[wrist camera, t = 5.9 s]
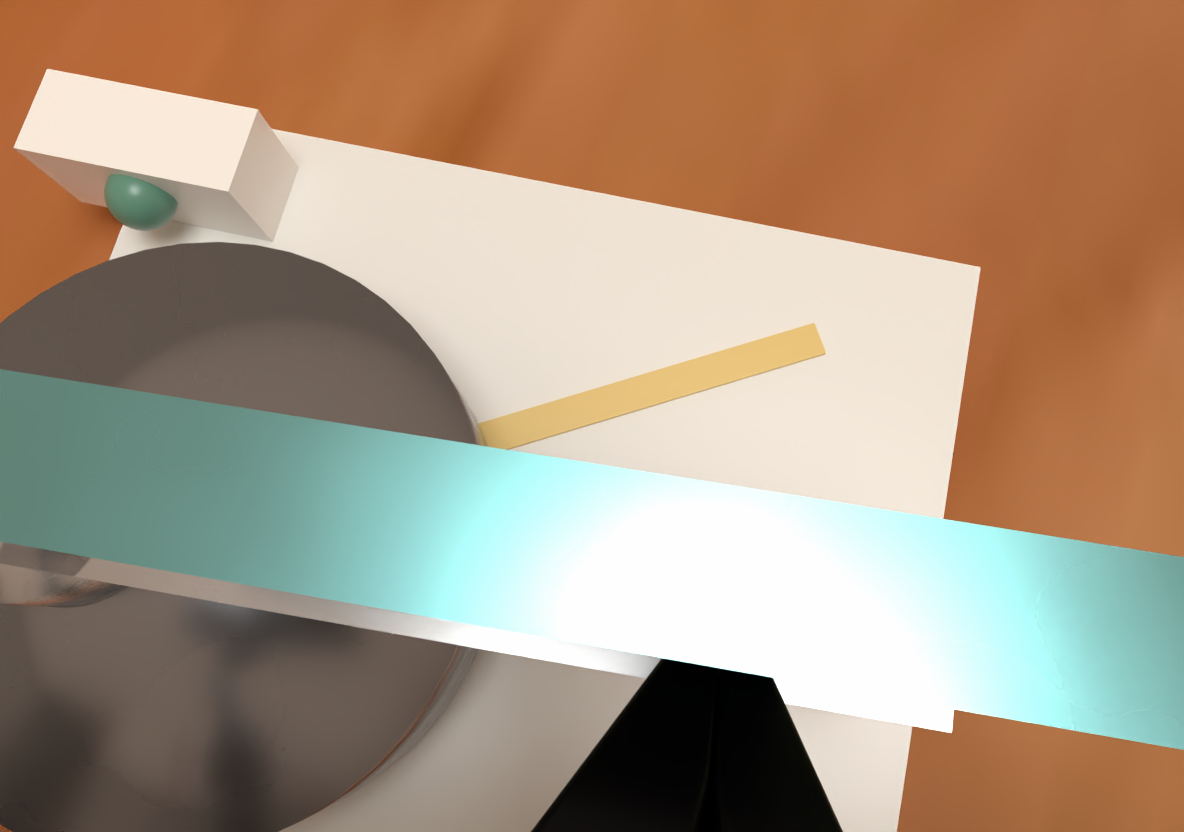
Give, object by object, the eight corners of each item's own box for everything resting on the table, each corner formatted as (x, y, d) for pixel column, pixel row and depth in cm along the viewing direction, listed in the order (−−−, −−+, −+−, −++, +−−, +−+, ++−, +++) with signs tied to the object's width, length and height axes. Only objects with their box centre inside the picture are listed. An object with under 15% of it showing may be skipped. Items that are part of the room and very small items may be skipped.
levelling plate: (-90, 733, 17) (-244, 751, 14) (147, 126, 19) (61, 35, 17) (853, 993, 15) (906, 1077, 12) (961, 287, 18) (1025, 217, 15)
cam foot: (-107, 775, 15) (-1163, 955, 6) (63, 258, 17) (-541, -156, 8) (854, 969, 13) (1251, 1548, 5) (909, 382, 15) (1253, 47, 7)
